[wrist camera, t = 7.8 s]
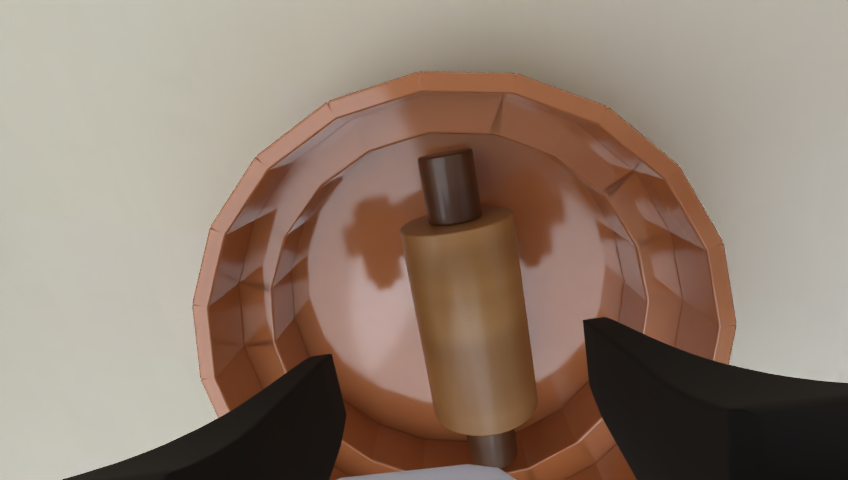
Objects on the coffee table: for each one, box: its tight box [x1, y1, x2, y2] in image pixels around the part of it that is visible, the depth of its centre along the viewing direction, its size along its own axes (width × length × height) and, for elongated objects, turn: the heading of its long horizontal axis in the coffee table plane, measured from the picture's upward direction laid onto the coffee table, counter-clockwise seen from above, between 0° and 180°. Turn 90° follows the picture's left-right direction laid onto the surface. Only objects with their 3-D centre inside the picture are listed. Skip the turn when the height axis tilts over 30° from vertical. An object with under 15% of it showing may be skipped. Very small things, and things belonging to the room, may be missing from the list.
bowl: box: [193, 72, 736, 480], centre depth 17 cm, size 16×16×5 cm
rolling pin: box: [400, 148, 538, 469], centre depth 17 cm, size 11×4×4 cm, turn 10°
